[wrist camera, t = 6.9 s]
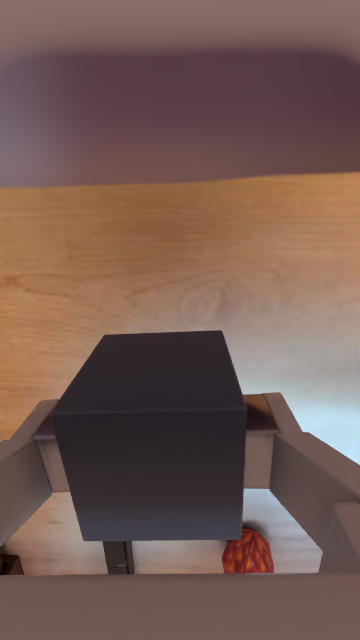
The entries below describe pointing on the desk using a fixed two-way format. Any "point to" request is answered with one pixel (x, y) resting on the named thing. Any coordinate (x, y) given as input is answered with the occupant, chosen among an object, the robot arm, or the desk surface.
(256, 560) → the decorative stone
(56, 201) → the desk surface
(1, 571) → the drawer
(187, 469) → the block
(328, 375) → the desk surface
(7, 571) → the cabinet
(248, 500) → the desk surface
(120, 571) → the black stapler
